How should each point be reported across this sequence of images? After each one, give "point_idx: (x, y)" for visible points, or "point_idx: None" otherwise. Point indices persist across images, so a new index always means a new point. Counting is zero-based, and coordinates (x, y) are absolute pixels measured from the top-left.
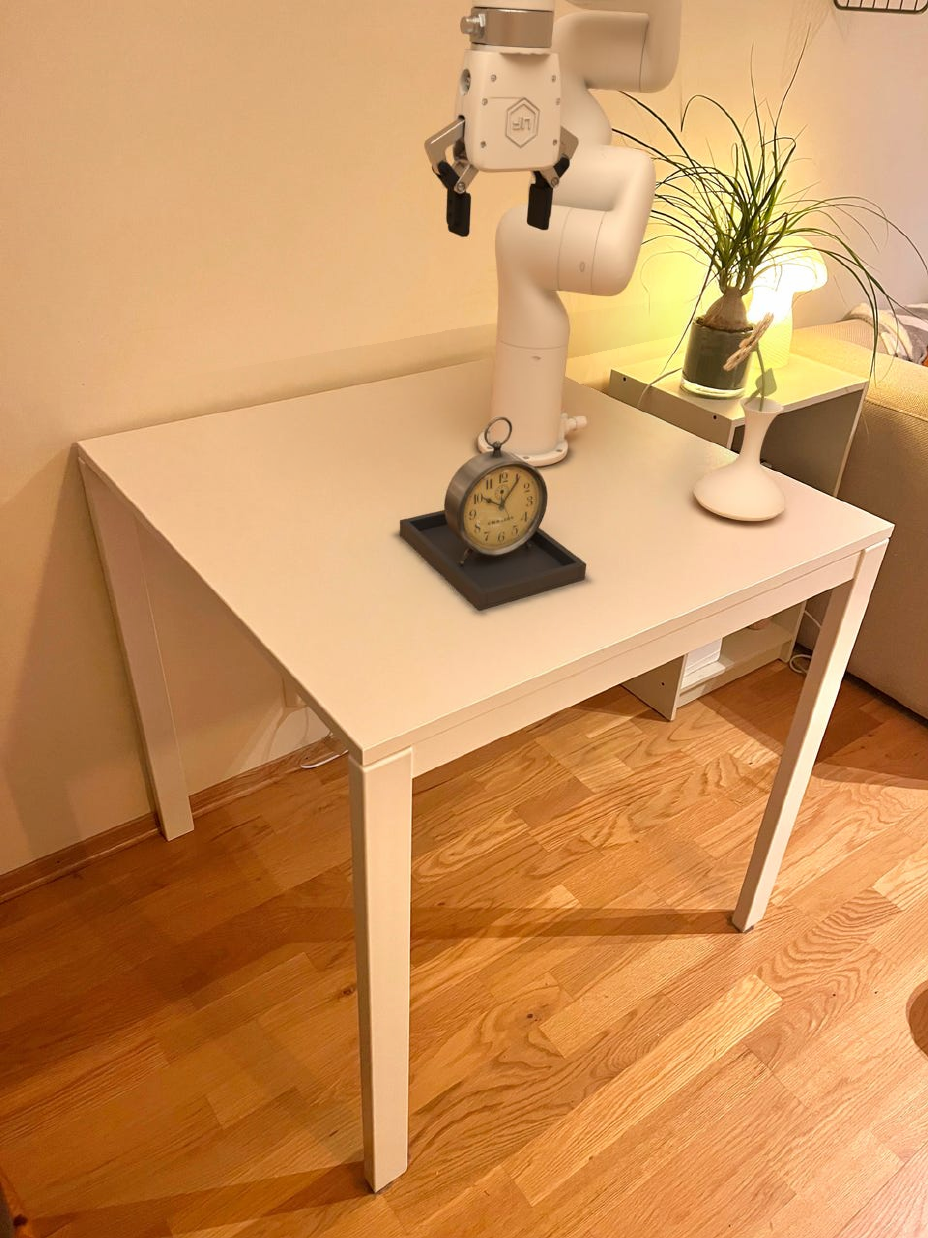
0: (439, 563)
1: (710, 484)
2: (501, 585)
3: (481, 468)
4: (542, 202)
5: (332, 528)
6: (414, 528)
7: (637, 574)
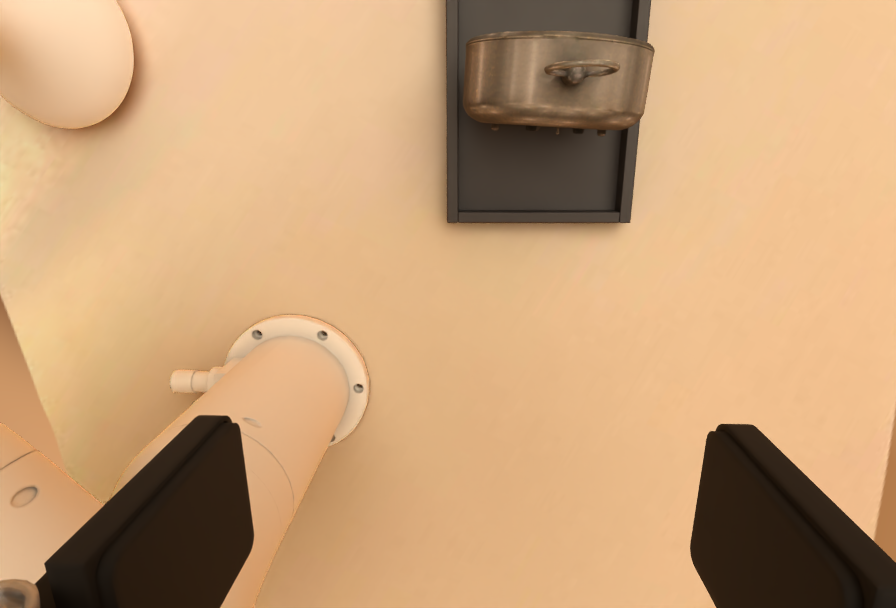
0: None
1: (96, 62)
2: None
3: (619, 55)
4: (170, 522)
5: (696, 281)
6: (626, 187)
7: None
